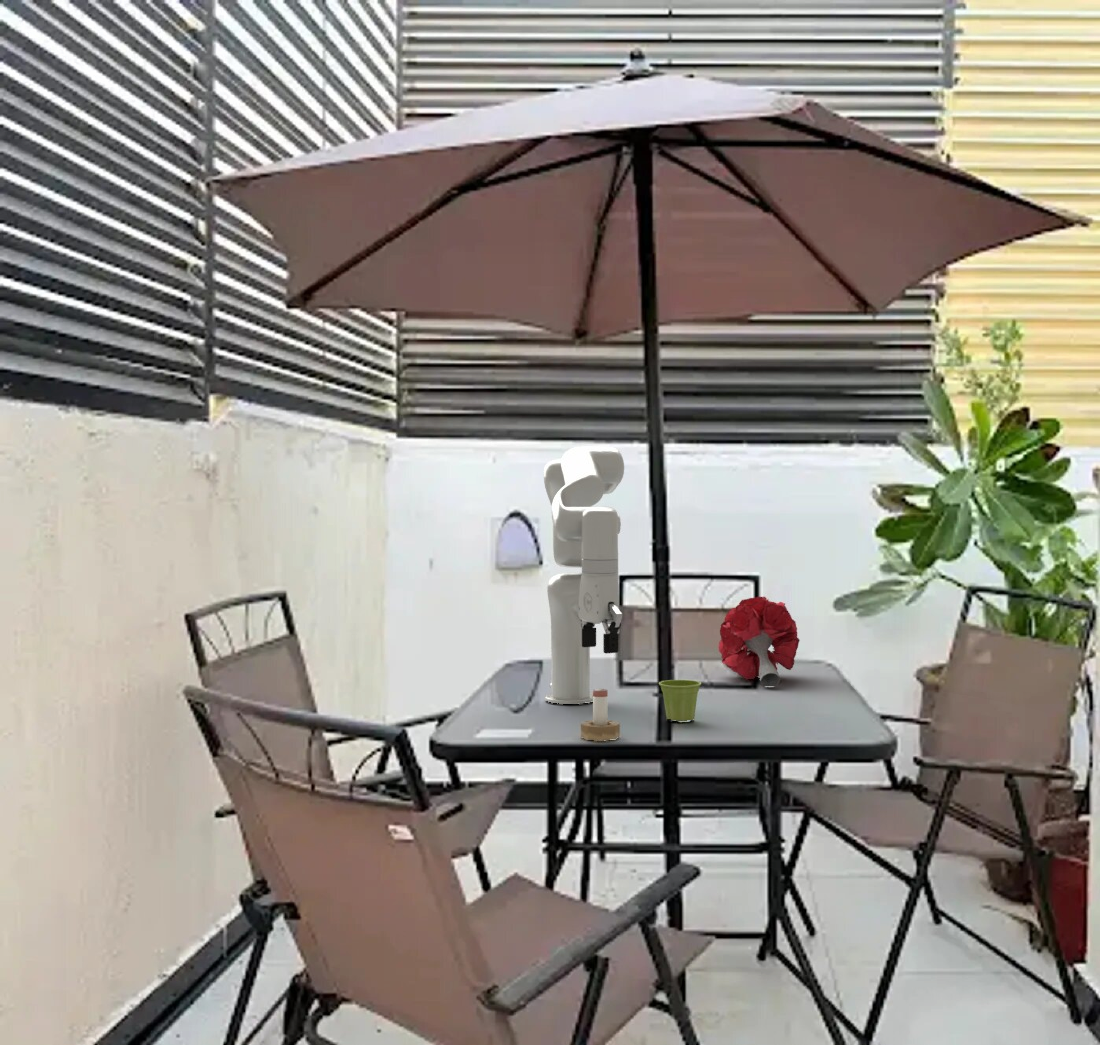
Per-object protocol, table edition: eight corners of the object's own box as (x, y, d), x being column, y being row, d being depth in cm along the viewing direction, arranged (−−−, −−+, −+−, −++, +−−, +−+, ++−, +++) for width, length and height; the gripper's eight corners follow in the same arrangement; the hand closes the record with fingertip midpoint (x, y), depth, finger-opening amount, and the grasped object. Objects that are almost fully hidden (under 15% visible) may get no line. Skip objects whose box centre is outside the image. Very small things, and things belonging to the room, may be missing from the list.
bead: (576, 736, 251) (576, 722, 251) (607, 733, 254) (607, 719, 254) (592, 742, 244) (592, 728, 244) (624, 739, 247) (624, 725, 247)
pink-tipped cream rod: (590, 737, 250) (590, 689, 250) (603, 736, 251) (603, 688, 251) (597, 739, 247) (597, 691, 247) (610, 738, 249) (610, 690, 248)
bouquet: (811, 710, 319) (789, 643, 345) (814, 639, 307) (792, 575, 333) (730, 716, 320) (714, 648, 345) (730, 645, 308) (714, 581, 333)
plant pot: (668, 726, 262) (668, 686, 262) (653, 718, 271) (652, 680, 271) (708, 723, 265) (707, 684, 265) (691, 716, 274) (691, 678, 274)
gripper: (565, 565, 255) (565, 645, 256) (603, 571, 239) (603, 656, 240) (596, 564, 258) (596, 643, 259) (636, 570, 243) (635, 654, 243)
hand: (599, 649), depth 249 cm, fingers open, 9 cm apart
